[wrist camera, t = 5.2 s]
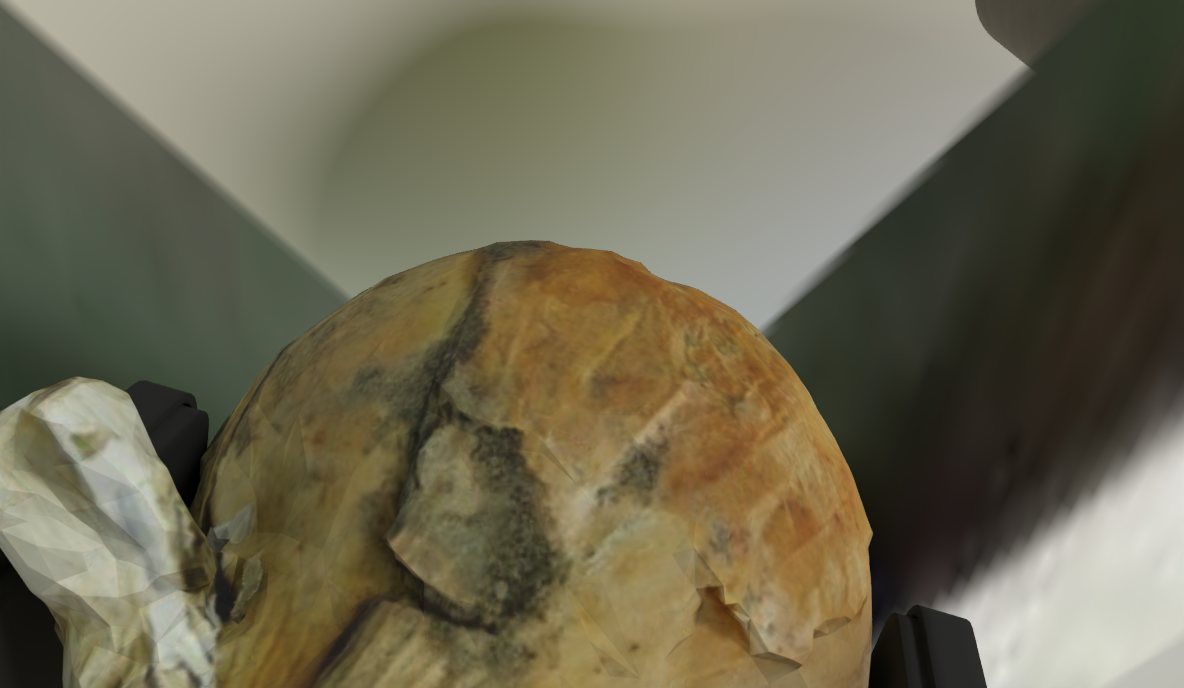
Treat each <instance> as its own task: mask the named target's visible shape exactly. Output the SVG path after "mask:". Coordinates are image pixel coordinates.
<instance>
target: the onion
mask: <svg viewBox="0 0 1184 688" xmlns="http://www.w3.org/2000/svg"><path fill="white" fill-rule="evenodd" d="M199 475H200V479H201V480H200V483H199V486H198V489H197V492H196V495H195V498H194V500H193V502H192V504H191V506H190V508H189V510H188V509H187V507H186V506H185V504H184V502H183V500H182V499H181V497H180V495H179V493H178V492H177V489H176V487H175V485H174V482H173V480H172V478H171V475H170V473H169V471H168V469H167V467H166V466H165V465H164V464H163V462H162V461H161V460H160V458H159V457H158V456H157V454H156V451H155V449H154V447H153V445H152V442H151V440H150V438H149V436H148V433H147V431H146V429H145V427H144V425H143V422H142V420H141V418H140V416H139V413H138V411H137V409H136V407H135V405H134V403H133V402H132V400H131V398H130V396H129V394H128V393H126V392H124V391H123V390H121V389H119V388H117V387H115V386H113V385H111V384H109V383H107V382H105V381H103V380H96V379H90V378H83V377H73V378H69V379H67V380H64V381H61V382H59V383H56V384H54V385H51V386H49V387H46V388H43V389H41V390H38V391H36V392H33V393H31V394H29V395H28V396H26V397H24V398H23V399H21V400H19V401H17V402H16V403H14V404H12V405H10V406H9V407H7V408H5V409H3V410H2V411H0V548H1V549H2V551H3V552H4V554H5V555H6V556H7V558H8V559H9V561H10V562H11V564H12V565H13V567H14V568H15V569H16V571H17V572H18V574H19V575H20V577H21V578H22V580H23V581H24V582H25V584H26V585H27V587H28V588H29V590H30V591H31V592H32V593H33V594H35V595H36V596H37V597H38V598H39V599H41V600H42V601H43V602H44V603H45V604H46V605H47V607H48V609H49V610H50V612H51V614H52V615H53V617H54V619H55V620H56V622H55V628H54V629H55V631H56V633H57V635H58V637H59V639H60V641H61V643H62V645H63V647H64V651H63V676H62V681H63V688H868V683H869V672H870V660H871V640H872V607H871V577H870V568H869V555H868V546H869V543H870V540H871V537H872V535H873V533H872V530H871V527H870V525H869V522H868V519H867V517H866V514H865V511H864V508H863V505H862V502H861V499H860V496H859V493H858V490H857V487H856V484H855V481H854V478H853V476H852V473H851V471H850V469H849V467H848V465H847V463H846V461H845V459H844V457H843V455H842V453H841V451H840V449H839V446H838V444H837V442H836V440H835V439H834V437H833V435H832V433H831V432H830V430H829V428H828V426H827V424H826V423H825V421H824V419H823V418H822V416H821V415H820V413H819V412H818V410H817V408H816V406H815V404H814V402H813V400H812V398H811V396H810V394H809V392H808V391H807V389H806V388H805V386H804V385H803V383H802V382H801V380H800V379H799V378H798V376H797V375H796V373H795V372H794V370H793V369H792V367H791V366H790V365H789V363H788V362H787V361H786V360H785V359H784V358H783V357H782V356H781V354H780V353H779V352H778V351H777V350H776V349H775V348H774V347H773V346H772V344H771V343H770V342H769V341H768V340H767V339H766V338H765V337H764V336H763V335H762V333H761V332H760V331H759V330H758V329H757V328H756V327H754V326H753V325H752V324H751V323H749V322H748V321H747V320H746V319H745V318H744V317H742V315H740V314H739V313H738V312H737V311H736V310H734V309H733V308H731V307H729V306H727V305H725V304H724V303H722V302H720V301H718V300H716V299H715V298H713V297H711V296H709V295H707V294H706V293H704V292H702V291H700V290H698V289H695V288H693V287H690V286H686V285H682V284H678V283H674V282H669V281H666V280H664V279H661V278H659V277H657V276H655V275H653V274H651V273H650V272H649V271H648V269H647V268H646V267H645V266H644V265H643V264H642V263H640V262H637V261H633V260H630V259H627V258H624V257H622V256H620V255H618V254H616V253H614V252H612V251H604V250H594V249H582V248H571V247H567V246H563V245H559V244H556V243H553V242H550V241H531V240H530V241H512V242H496V243H494V244H491V245H488V246H486V247H482V248H478V249H474V250H470V251H466V252H461V253H456V254H453V255H449V256H446V257H442V258H439V259H436V260H433V261H430V262H427V263H425V264H422V265H419V266H417V267H414V268H411V269H408V270H406V271H403V272H401V273H398V274H395V275H392V276H390V277H387V278H385V279H383V280H382V281H380V282H379V283H377V284H376V285H374V286H373V287H371V288H369V289H367V290H365V291H363V292H361V293H360V294H358V295H357V296H355V297H354V298H353V299H351V300H350V301H348V302H347V303H345V304H344V305H343V306H341V307H340V308H338V309H337V310H335V311H334V312H333V313H331V314H330V315H328V316H327V317H326V318H324V319H323V320H321V321H320V322H319V323H317V324H316V325H314V326H313V327H312V328H310V329H309V330H307V331H306V332H305V333H303V334H302V335H300V336H299V337H298V338H296V339H295V340H293V341H292V342H291V343H289V344H288V345H286V346H285V347H284V348H282V349H281V350H280V352H279V353H278V354H277V355H276V356H275V357H274V358H273V359H272V360H271V362H270V363H269V364H268V365H267V366H266V367H265V368H264V369H263V371H262V372H261V373H260V374H259V375H258V377H257V378H256V380H255V381H254V382H253V384H252V385H251V387H250V388H249V390H248V391H247V393H246V394H245V396H244V397H243V398H242V400H241V401H240V403H239V404H238V406H237V407H236V409H235V410H234V411H233V413H232V415H231V416H229V417H227V419H226V420H225V422H224V423H223V425H222V426H221V428H220V429H219V431H218V433H217V434H216V436H215V437H214V439H213V441H212V442H211V444H210V445H209V447H208V449H207V450H206V452H205V453H204V455H203V456H202V458H201V460H200V473H199Z"/></svg>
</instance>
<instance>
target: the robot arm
mask: <svg viewBox="0 0 1184 688" xmlns="http://www.w3.org/2000/svg"><path fill="white" fill-rule="evenodd" d="M125 392H126V393H128V394H129V396H130V398H131V400H132V402H133V403H134V405H135V407H136V409H137V411H138V413H139V416H140V418H141V420H142V422H143V425H144V427H145V429H146V431H147V433H148V436H149V438H150V440H151V442H152V445H153V447H154V449H155V451H156V454H157V456H158V457H159V458H160V460H161V461H162V462H163V464H164V465H165V466H166V467H167V469H168V471H169V473H170V475H171V478H172V480H173V482H174V485H175V487H176V489H177V492H178V493H179V495H180V497H181V499H182V500H183V502H184V504H185V506H186V507H187V509H188V510H189V508H190V506H191V504H192V502H193V500H194V498H195V495H196V492H197V489H198V486H199V483H200V480H201V479H200V475H199V473H200V460H201V458H202V456H203V455H204V453H205V452H206V450H207V441H208V429H209V418H208V415H207V413H206V412H205V411H201V410H198V409H197V403H196V400H195V397H194V396H193V395H192V394H190V393H186V392H183V391H180V390H176V389H173V388H169V387H166V386H162V385H159V384H155V383H152V382H149V381H139V382H137V383H135V384H133V385H132V386H131V387H130V388H129V389H127V390H126V391H125ZM55 622H56V620H55V619H54V617H53V615H52V614H51V612H50V610H49V609H48V607H47V605H46V604H45V603H44V602H43V601H42V600H41V599H39V598H38V597H37V596H36V595H35V594H33V593H32V592H31V591H30V590H29V588H28V587H27V585H26V584H25V582H24V581H23V580H22V578H21V577H20V575H19V574H18V572H17V571H16V569H15V568H14V567H13V565H12V564H11V562H10V561H9V559H8V558H7V556H6V555H5V554H4V552H3V551H2V549H1V548H0V688H63V681H62V676H63V651H64V647H63V645H62V643H61V641H60V639H59V637H58V635H57V633H56V631H55V629H54V628H55ZM868 688H987V686H986V682H985V677H984V673H983V669H982V665H981V661H980V657H979V653H978V648H977V644H976V640H975V636H974V632H973V628H972V626H971V623H970V622H969V621H968V620H967V619H964V618H961V617H957V616H954V615H950V614H947V613H944V612H940V611H937V610H933V609H930V608H926V607H923V606H920V605H915V606H913V607H912V608H911V609H910V610H909V611H908V613H907V615H906V616H905V615H902V614H898V613H892V614H891V615H890V616H889V618H888V619H887V621H886V623H885V625H884V628H883V630H882V632H881V634H880V636H879V638H878V641H877V643H876V645H875V647H874V649H873V652H872V654H871V660H870V672H869V683H868Z"/></svg>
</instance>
